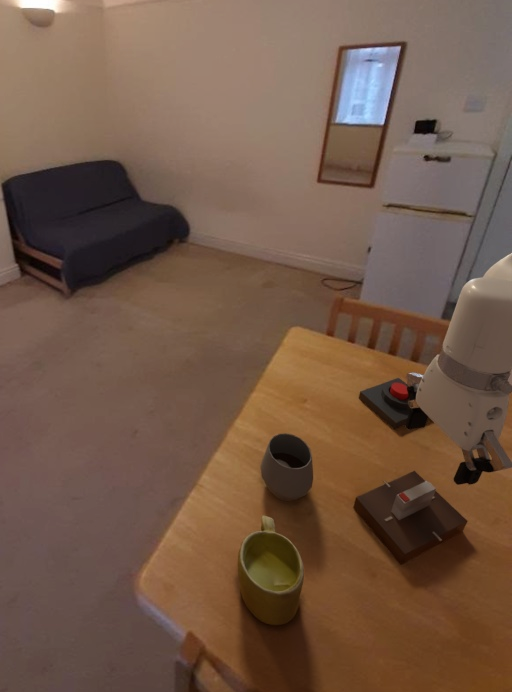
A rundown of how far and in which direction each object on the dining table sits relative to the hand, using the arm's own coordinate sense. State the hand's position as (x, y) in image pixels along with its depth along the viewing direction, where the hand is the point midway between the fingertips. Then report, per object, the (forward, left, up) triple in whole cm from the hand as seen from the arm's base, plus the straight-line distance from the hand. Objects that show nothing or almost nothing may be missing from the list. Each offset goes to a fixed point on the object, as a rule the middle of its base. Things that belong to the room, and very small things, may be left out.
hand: (437, 452), depth 62 cm
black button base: (-21, -21, -19) cm, 35 cm away
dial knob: (-1, -1, -16) cm, 16 cm away
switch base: (-1, -1, -19) cm, 19 cm away
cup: (+15, -14, -19) cm, 28 cm away
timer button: (-21, -21, -15) cm, 33 cm away
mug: (+27, -2, -19) cm, 33 cm away
